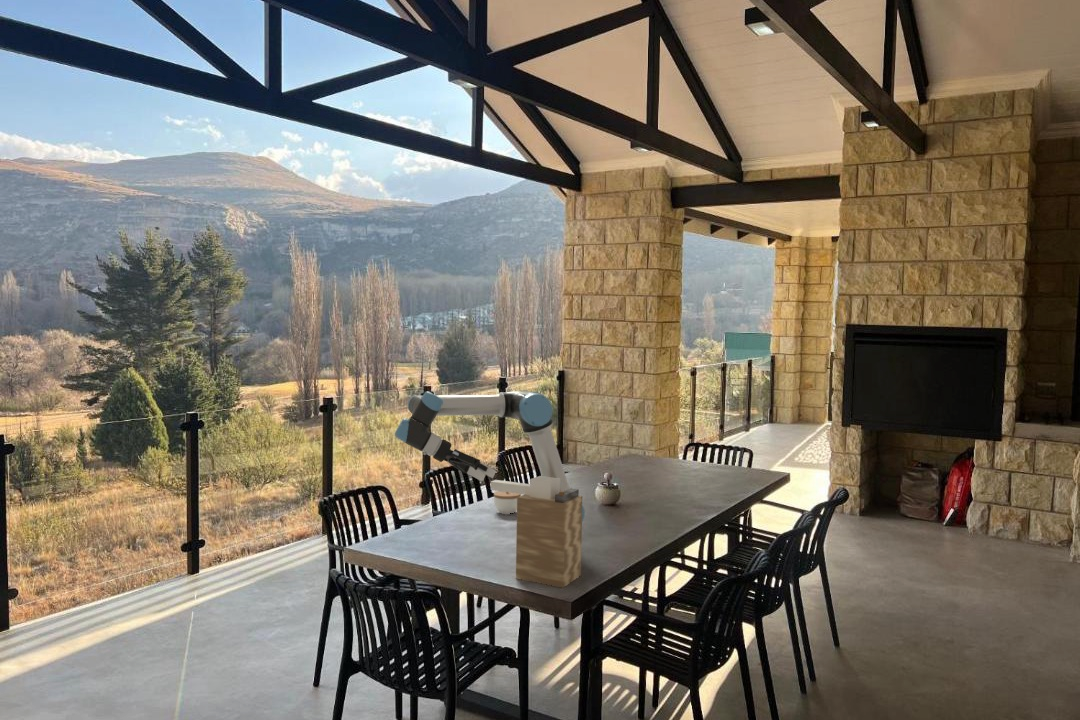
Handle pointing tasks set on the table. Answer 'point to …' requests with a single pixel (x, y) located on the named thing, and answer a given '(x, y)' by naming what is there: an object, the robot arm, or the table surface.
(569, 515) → the cabinet
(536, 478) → the white long stepped block
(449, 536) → the table surface
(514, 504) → the lidded bowl
